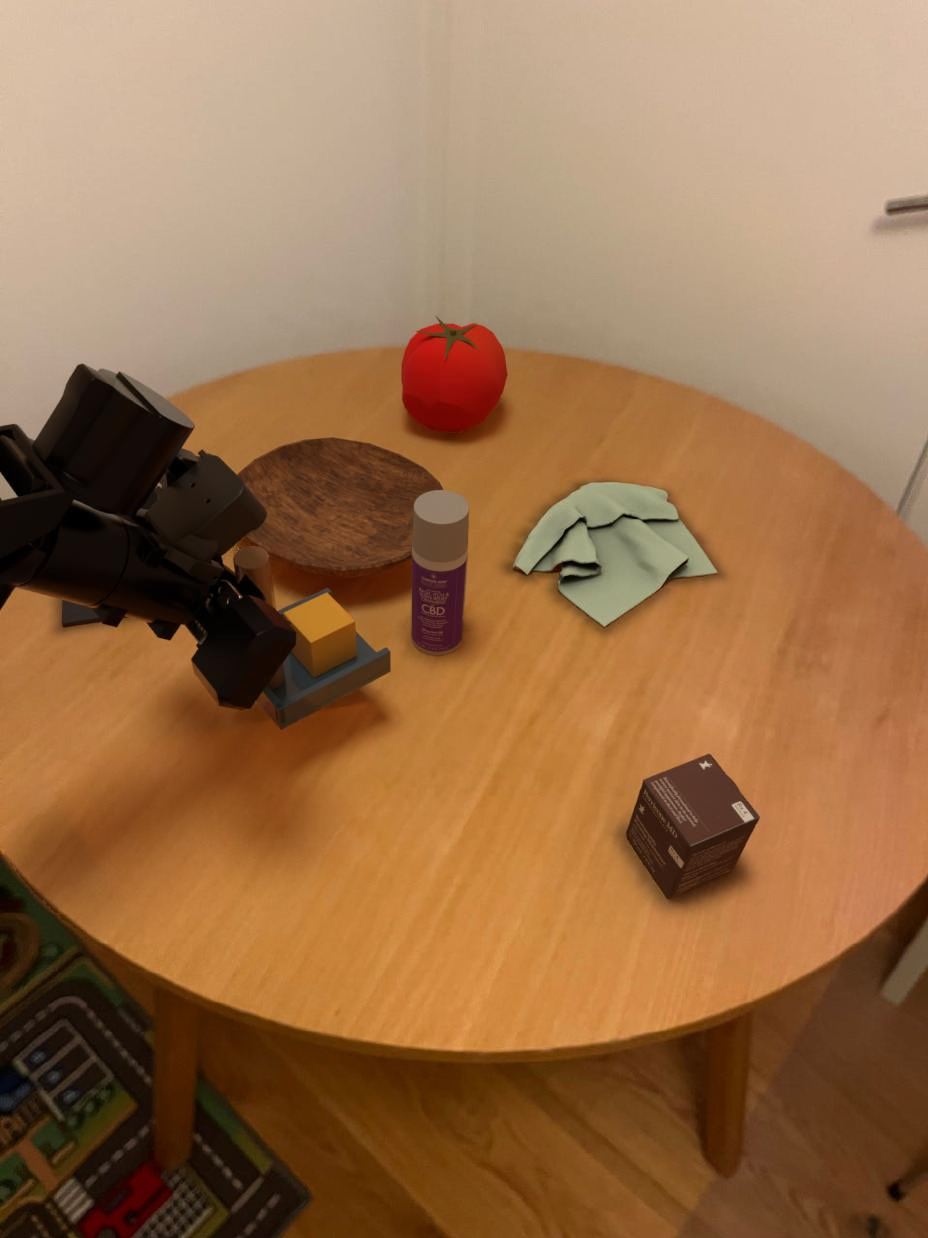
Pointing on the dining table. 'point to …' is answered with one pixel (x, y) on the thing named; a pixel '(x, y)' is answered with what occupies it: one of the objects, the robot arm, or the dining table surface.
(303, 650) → the block
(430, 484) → the bowl
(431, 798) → the dining table surface
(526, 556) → the cloth
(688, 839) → the box
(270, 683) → the tray with wooden peg
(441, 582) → the container
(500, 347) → the tomato
